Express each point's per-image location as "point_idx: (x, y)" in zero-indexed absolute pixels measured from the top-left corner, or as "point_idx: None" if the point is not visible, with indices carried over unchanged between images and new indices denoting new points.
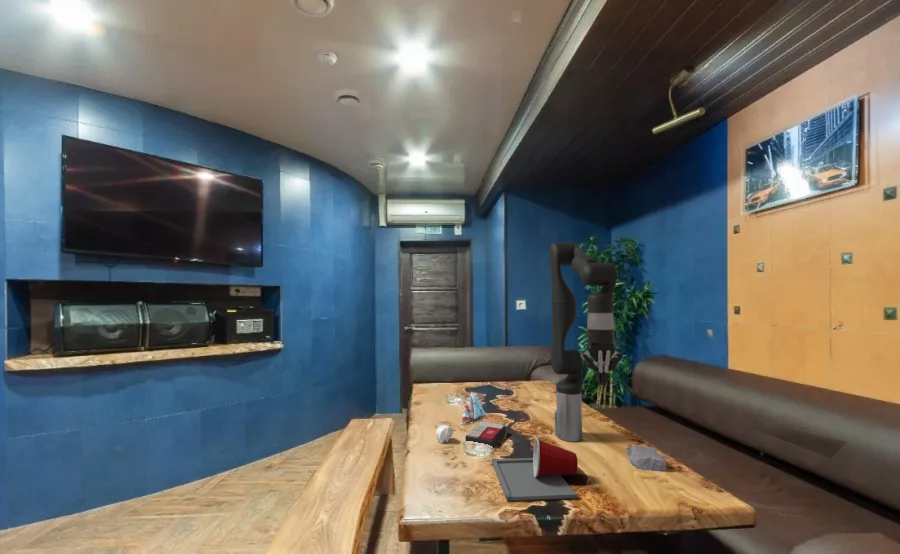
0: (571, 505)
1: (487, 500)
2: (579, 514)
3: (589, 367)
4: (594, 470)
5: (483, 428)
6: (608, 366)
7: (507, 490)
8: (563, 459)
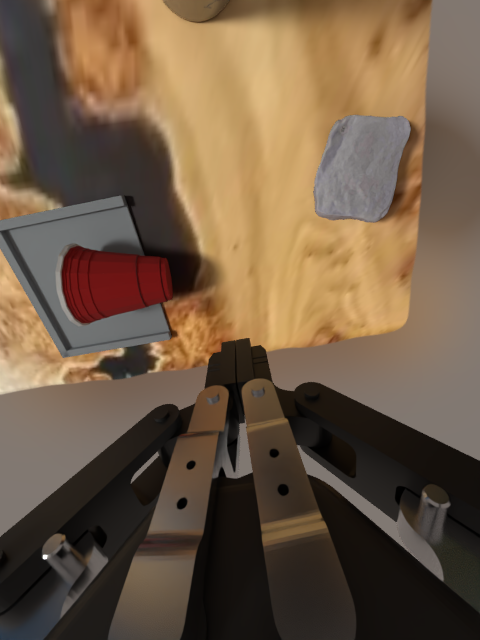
0: (160, 351)
1: (37, 353)
2: (169, 368)
3: (142, 428)
4: (220, 232)
5: None
6: (301, 436)
7: (58, 341)
8: (139, 308)
